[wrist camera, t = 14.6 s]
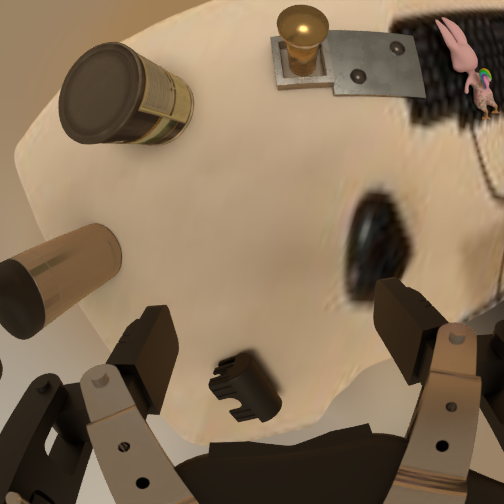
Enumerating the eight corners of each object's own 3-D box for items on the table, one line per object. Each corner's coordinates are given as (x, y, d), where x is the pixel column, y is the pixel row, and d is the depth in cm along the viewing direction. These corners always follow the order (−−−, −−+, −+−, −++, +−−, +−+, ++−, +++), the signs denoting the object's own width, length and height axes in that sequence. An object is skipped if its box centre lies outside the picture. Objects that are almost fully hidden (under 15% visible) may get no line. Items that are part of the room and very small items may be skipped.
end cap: (284, 389, 45) (281, 418, 38) (247, 399, 46) (240, 428, 40) (254, 345, 43) (247, 374, 36) (216, 359, 45) (204, 386, 38)
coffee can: (170, 159, 36) (107, 162, 23) (115, 128, 36) (45, 123, 22) (209, 90, 33) (161, 57, 19) (149, 64, 32) (88, 33, 19)
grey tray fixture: (279, 99, 32) (278, 94, 30) (271, 36, 29) (269, 29, 27) (422, 99, 29) (430, 95, 26) (410, 38, 26) (416, 32, 24)
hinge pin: (286, 81, 31) (280, 46, 20) (282, 51, 30) (273, 6, 18) (322, 79, 30) (332, 43, 19) (317, 48, 29) (324, 4, 18)
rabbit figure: (493, 108, 27) (446, 16, 23) (518, 110, 22) (468, 7, 17) (469, 122, 29) (418, 26, 24) (495, 126, 24) (440, 16, 19)
